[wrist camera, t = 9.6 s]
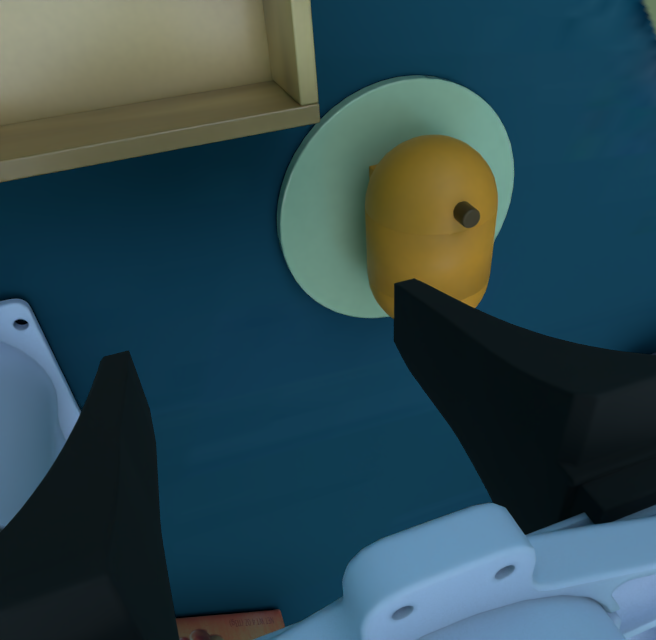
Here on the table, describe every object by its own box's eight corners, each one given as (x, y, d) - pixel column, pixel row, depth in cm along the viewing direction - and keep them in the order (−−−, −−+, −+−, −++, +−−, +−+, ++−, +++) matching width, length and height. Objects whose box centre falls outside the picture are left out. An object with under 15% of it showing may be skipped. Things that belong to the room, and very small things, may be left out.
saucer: (494, 281, 30) (500, 287, 29) (291, 336, 27) (295, 343, 27) (522, 54, 23) (530, 57, 23) (258, 100, 21) (261, 105, 20)
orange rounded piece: (449, 276, 28) (514, 342, 23) (352, 301, 27) (403, 375, 22) (460, 107, 23) (544, 153, 19) (342, 130, 22) (404, 183, 18)
